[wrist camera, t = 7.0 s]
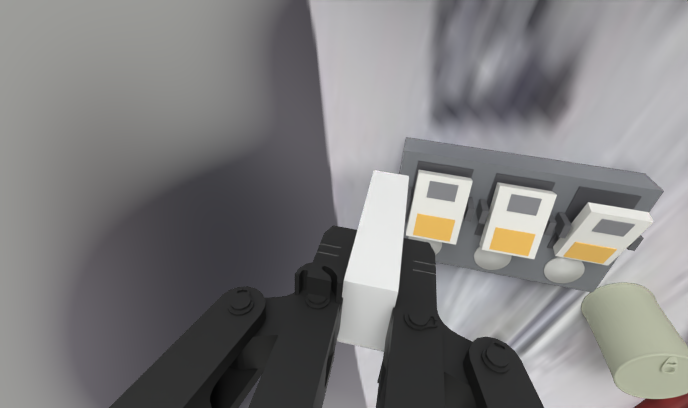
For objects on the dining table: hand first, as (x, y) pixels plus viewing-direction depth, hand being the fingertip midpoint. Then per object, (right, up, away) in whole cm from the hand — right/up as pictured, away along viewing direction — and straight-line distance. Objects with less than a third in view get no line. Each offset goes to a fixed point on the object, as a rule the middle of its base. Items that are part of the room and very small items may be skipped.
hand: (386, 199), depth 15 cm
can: (+39, -15, +37) cm, 55 cm away
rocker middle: (+18, -2, +25) cm, 31 cm away
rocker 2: (+27, -4, +24) cm, 36 cm away
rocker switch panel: (+19, -1, +32) cm, 37 cm away
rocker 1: (+9, -1, +26) cm, 28 cm away
